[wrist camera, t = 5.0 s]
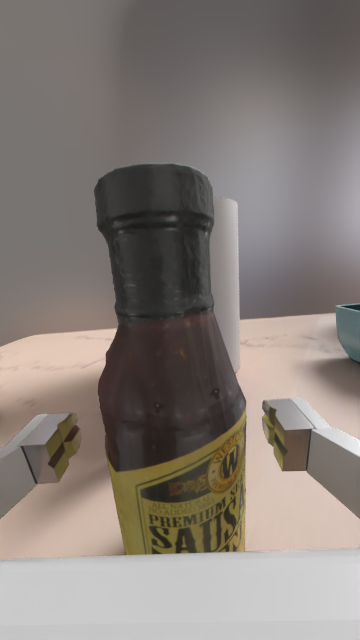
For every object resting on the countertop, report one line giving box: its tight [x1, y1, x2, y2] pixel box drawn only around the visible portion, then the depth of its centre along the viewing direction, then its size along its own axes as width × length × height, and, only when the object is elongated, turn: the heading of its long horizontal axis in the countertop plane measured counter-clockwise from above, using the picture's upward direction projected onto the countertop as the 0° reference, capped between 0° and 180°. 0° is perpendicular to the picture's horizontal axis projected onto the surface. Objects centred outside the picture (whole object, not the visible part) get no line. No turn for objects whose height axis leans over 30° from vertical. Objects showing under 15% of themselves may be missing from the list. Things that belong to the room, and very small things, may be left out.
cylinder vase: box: [209, 197, 240, 373], centre depth 31 cm, size 12×12×25 cm
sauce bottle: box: [94, 162, 246, 555], centre depth 9 cm, size 7×6×20 cm
